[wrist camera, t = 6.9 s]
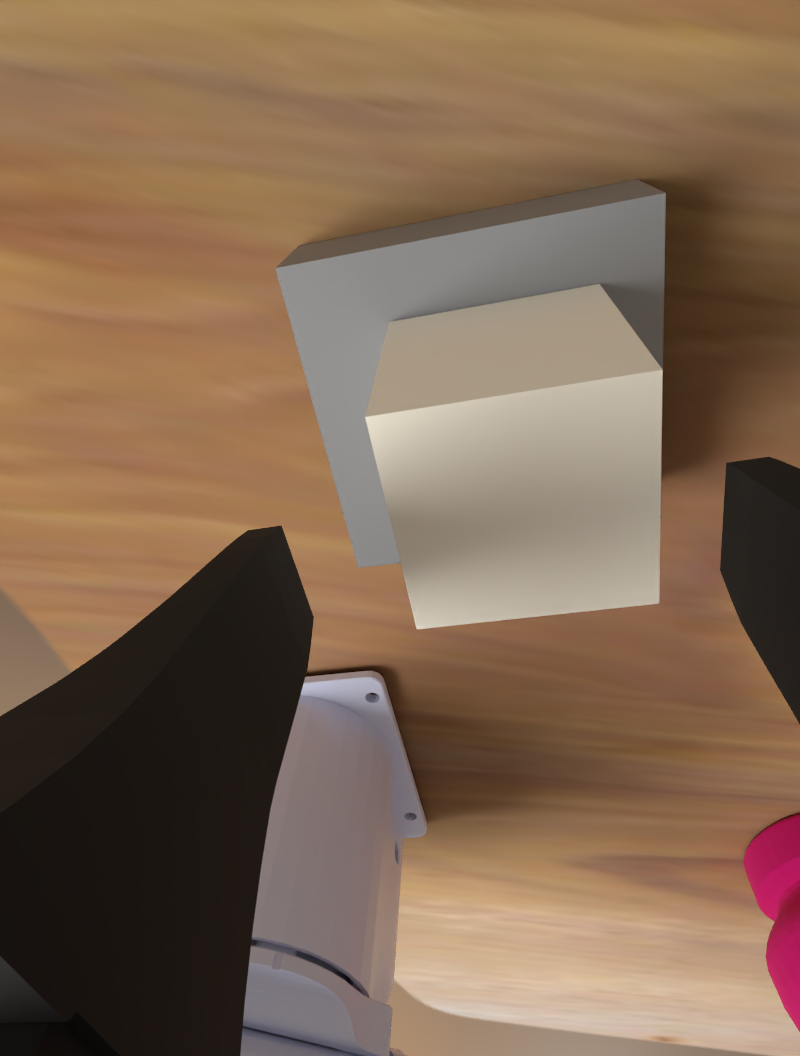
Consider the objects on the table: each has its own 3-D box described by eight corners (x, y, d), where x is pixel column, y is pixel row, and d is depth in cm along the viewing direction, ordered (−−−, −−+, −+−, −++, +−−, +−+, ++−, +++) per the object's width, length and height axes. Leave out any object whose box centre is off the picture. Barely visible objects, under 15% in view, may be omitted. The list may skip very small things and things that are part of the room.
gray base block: (634, 477, 20) (660, 533, 17) (370, 511, 21) (358, 567, 19) (632, 176, 16) (665, 193, 13) (302, 242, 17) (275, 268, 14)
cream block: (606, 471, 16) (659, 603, 12) (424, 496, 17) (416, 629, 13) (599, 283, 14) (662, 369, 10) (389, 322, 15) (365, 416, 11)
